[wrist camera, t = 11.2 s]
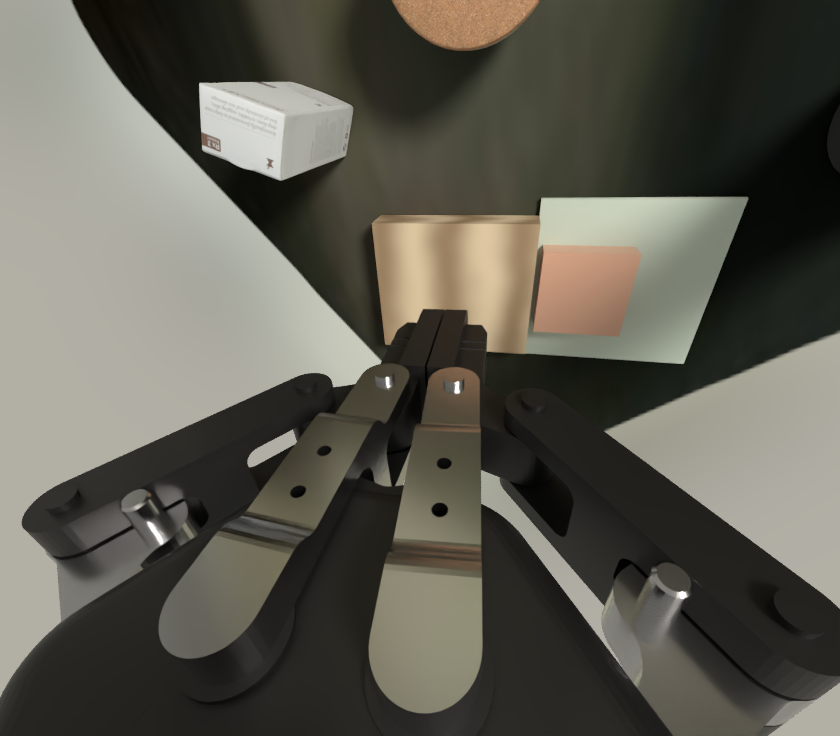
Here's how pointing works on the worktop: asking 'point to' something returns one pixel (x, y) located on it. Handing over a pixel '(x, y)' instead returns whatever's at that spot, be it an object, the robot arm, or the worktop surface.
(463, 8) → the lidded jar
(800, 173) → the worktop surface
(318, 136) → the skincare box
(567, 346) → the sage mat
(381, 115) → the worktop surface
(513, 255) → the oak board
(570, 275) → the terracotta coaster
